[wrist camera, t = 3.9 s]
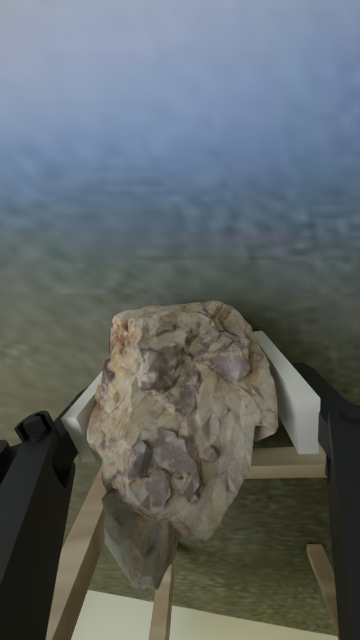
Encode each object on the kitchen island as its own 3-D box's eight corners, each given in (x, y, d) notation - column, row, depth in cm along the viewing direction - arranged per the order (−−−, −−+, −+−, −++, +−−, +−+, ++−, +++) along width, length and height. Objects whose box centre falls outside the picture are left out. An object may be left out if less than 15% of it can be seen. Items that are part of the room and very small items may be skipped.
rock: (247, 307, 15) (209, 215, 7) (317, 480, 11) (477, 881, 2) (156, 341, 18) (52, 309, 10) (180, 486, 14) (24, 659, 5)
